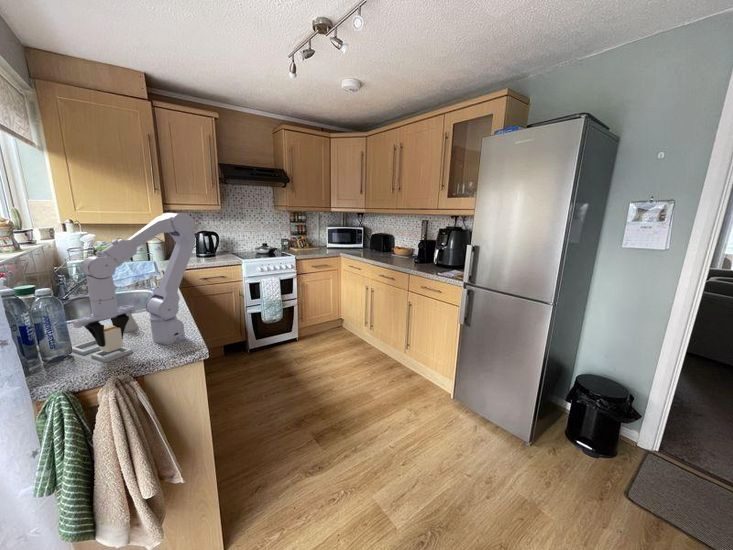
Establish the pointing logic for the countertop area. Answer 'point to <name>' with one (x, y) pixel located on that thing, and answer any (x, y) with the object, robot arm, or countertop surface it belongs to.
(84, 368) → the countertop surface
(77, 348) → the panel
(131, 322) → the flask
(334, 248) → the countertop surface
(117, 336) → the plug
